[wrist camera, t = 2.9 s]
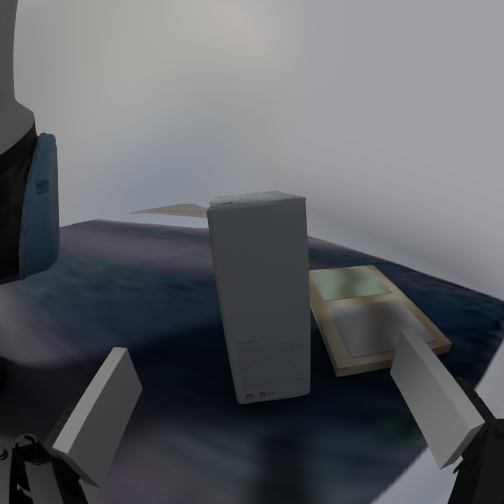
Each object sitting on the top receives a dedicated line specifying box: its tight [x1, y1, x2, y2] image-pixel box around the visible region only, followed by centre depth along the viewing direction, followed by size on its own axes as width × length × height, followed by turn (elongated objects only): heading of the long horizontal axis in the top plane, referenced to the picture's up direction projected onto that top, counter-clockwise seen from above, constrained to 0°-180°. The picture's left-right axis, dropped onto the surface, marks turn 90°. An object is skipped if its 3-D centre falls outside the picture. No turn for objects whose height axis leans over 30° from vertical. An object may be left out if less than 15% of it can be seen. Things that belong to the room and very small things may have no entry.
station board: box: [309, 265, 452, 377], centre depth 31 cm, size 12×22×1 cm, turn 0°
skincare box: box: [207, 191, 311, 404], centre depth 21 cm, size 8×6×15 cm
